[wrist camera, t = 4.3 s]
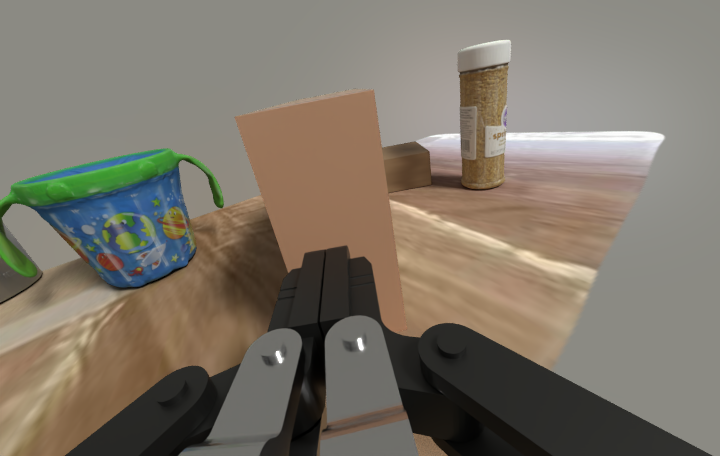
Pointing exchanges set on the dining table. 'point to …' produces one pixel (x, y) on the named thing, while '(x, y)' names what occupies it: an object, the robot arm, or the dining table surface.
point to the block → (327, 184)
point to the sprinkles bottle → (483, 112)
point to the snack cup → (114, 215)
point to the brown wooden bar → (406, 166)
